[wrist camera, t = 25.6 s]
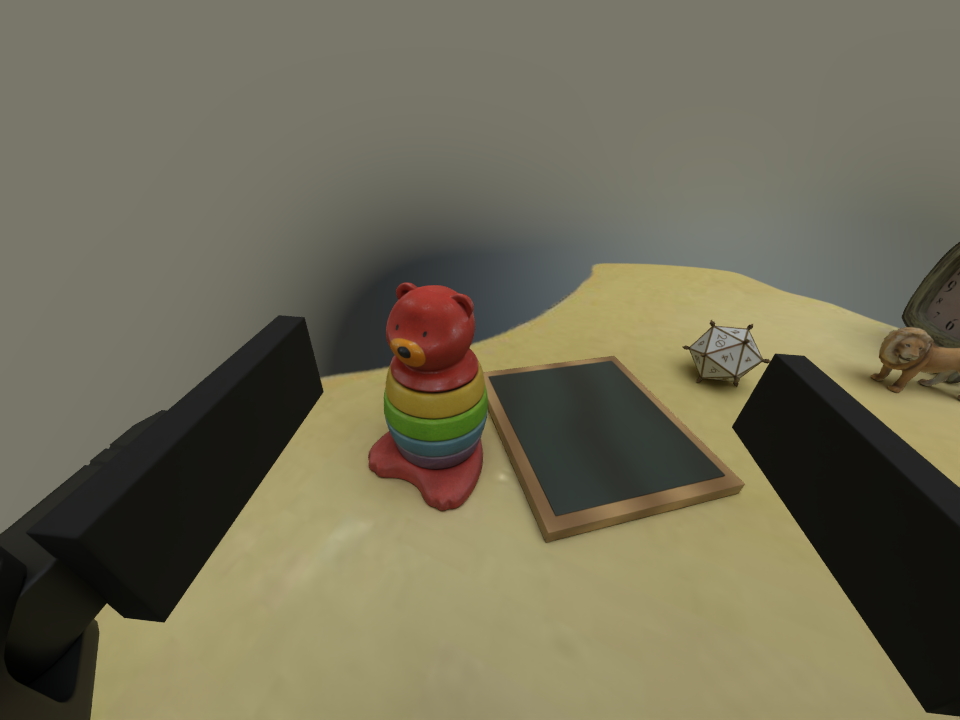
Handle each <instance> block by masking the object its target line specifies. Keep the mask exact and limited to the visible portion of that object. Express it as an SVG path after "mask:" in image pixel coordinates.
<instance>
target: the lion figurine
mask: <svg viewBox="0 0 960 720" xmlns="http://www.w3.org/2000/svg"><path fill="white" fill-rule="evenodd" d="M933 341H934V340H933V339H932V338H931V337H930V336H929V335H928V334H927V332H926V331H925V330H922V329H920V328H913V327H905V328H900V329H898V330H897V331H891V332H890V334H889V335H888V336H887V337H886V338H885V339H884V341H883V343H882V346H881V348H880V353H879V358H880V359H881V362H882V363H883V364H884V365H883V367H882V369H881V371H880V373H879V374H873V375H871V378H872V379H874V380H878V381H881V380H883V379H885V378H886V377H887V376H888V375H889V373H890V372H891V370H892V369H896V370H902V375H901V376H900V378H899V379H898V380H897V381H896V382H894V383H893V384H892V385H890V386H889V387H888V389H889V390H891V391H893V392H896V393H899V392H900V391H901V390H902V389H903V388H904V387H905V385H906V383H907V382H908V381H910V380H911V379H912V378H913V377H915V376H916V375H917V374H918V373H919V372H920V371H921V372H927V373H939V374H938V375H937V376H936V377H935V378H933V379H930V380H924V379H921V380H919V381H918V382H919V383H920V384H922V385H925V386H932V385H934V384H937V383H940V382H944V381H946V380H947V379H948V378H949V376H950V375H951V374H953V373H955V372H958V373H959V375H960V348H943V347H938V346H937V345H936V344H935V343H934V342H933ZM957 398H958V399H959V400H960V395H958V396H957Z"/></svg>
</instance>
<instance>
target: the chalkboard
mask: <svg viewBox="0 0 960 720" xmlns="http://www.w3.org/2000/svg"><path fill="white" fill-rule="evenodd" d="M483 375H484V380H485V385H486V389H487V396H488V410H489V412H490V415H491V417H492V419H493V421H494V424H495V426H496V428H497V431H498V433H499V435H500V438H501V440H502V442H503V445H504V447H505V449H506V452H507V454H508V456H509V458H510V461H511V463H512V465H513V468H514V470H515V472H516V475H517V477H518V479H519V482H520V484H521V486H522V488H523V491H524V493H525V495H526V498H527V500H528V502H529V505H530V507H531V509H532V512H533V514H534V516H535V519H536V521H537V523H538V525H539V528H540V530H541V532H542V535H543V537H544V539H545V542H550V541H553V540H557V539H561V538H565V537H569V536H573V535H577V534H581V533H585V532H589V531H593V530H597V529H600V528H604V527H608V526H612V525H616V524H620V523H624V522H628V521H632V520H636V519H640V518H644V517H647V516H651V515H655V514H659V513H663V512H667V511H671V510H675V509H679V508H683V507H687V506H690V505H694V504H698V503H702V502H706V501H710V500H714V499H718V498H722V497H726V496H730V495H734V494H737V493H739V492H740V491H741V489H742V488H743V486H744V485H745V483H744V482H743V481H742V480H741V479H740V478H739V477H738V476H736V475H735V474H734V473H733V472H732V471H731V470H730V469H729V468H728V467H727V466H726V465H725V464H724V463H723V462H722V461H721V460H720V459H719V458H718V457H717V456H716V455H715V454H714V453H713V452H712V451H711V450H710V449H709V448H708V447H707V446H706V445H705V444H704V443H703V442H702V441H701V440H700V439H699V438H698V437H697V436H696V435H695V434H694V433H692V432H691V431H690V430H689V429H688V428H687V427H686V426H685V425H684V424H683V423H682V422H681V421H680V420H679V419H678V418H677V417H676V416H675V415H674V414H673V413H672V412H671V411H670V410H669V409H668V408H667V407H666V406H665V405H664V404H663V403H662V402H661V401H660V400H659V399H658V398H657V397H656V396H655V395H654V394H653V393H652V392H651V391H650V390H648V389H647V388H646V387H645V386H644V385H643V384H642V383H641V382H640V381H639V380H638V379H637V378H636V377H635V376H634V375H633V374H632V373H631V372H630V371H629V370H628V369H627V368H626V367H625V366H624V365H623V364H622V363H621V362H620V361H619V360H618V359H617V358H616V357H615V356H609V357H601V358H593V359H585V360H578V361H570V362H562V363H554V364H546V365H538V366H530V367H522V368H514V369H506V370H498V371H490V372H483Z"/></svg>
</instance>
